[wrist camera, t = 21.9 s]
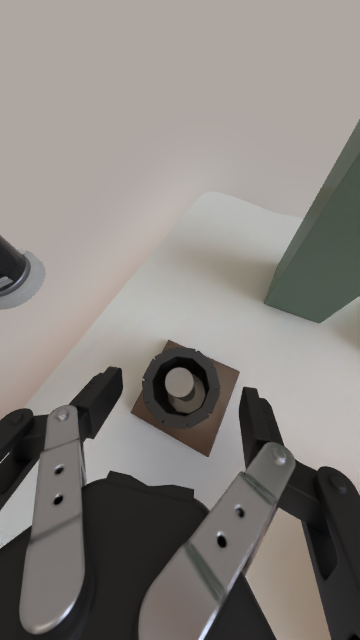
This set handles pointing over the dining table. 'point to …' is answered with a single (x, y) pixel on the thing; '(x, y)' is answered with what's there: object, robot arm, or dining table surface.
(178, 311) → the dining table surface
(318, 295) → the rectangular block
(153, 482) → the dining table surface
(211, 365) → the ring sleeve
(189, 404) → the peg stand
